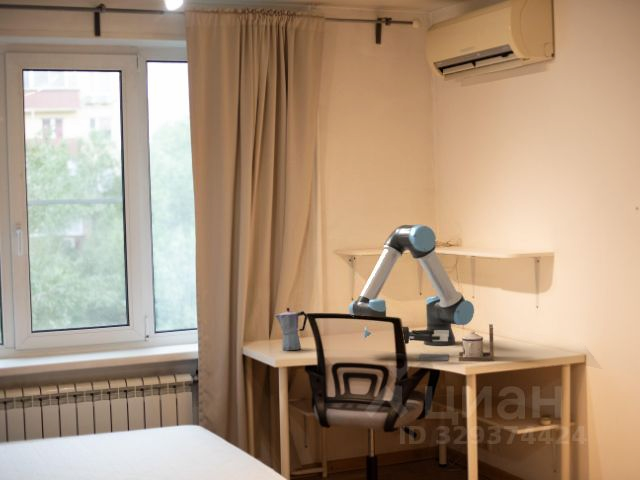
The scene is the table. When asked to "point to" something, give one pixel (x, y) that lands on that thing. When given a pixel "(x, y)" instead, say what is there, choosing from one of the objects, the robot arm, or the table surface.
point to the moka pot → (290, 329)
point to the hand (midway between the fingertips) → (448, 335)
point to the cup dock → (483, 352)
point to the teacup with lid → (472, 345)
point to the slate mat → (433, 357)
